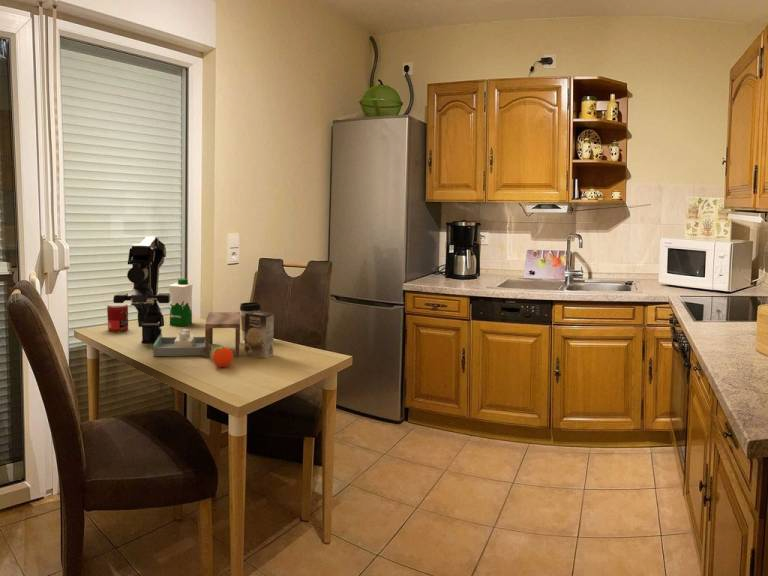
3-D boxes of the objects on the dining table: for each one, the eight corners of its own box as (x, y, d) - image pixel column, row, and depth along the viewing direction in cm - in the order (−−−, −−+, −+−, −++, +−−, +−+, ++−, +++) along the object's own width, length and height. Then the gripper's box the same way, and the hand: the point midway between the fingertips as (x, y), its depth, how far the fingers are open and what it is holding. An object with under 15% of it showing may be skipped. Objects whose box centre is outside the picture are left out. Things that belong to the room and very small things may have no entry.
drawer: (153, 356, 206) (153, 345, 206) (159, 344, 222) (159, 334, 221) (205, 355, 211) (205, 344, 210) (208, 344, 226) (208, 334, 225)
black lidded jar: (255, 341, 234) (255, 305, 231) (235, 340, 235) (236, 304, 233) (263, 337, 242) (264, 302, 239) (244, 335, 243) (245, 300, 241)
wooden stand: (205, 357, 208) (205, 324, 206) (208, 343, 229) (208, 312, 227) (239, 357, 211) (239, 323, 209) (239, 342, 231) (240, 312, 229)
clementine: (210, 370, 194) (210, 350, 193) (207, 364, 200) (207, 345, 199) (234, 368, 197) (234, 348, 196) (231, 363, 204) (231, 343, 202)
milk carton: (194, 322, 262) (194, 279, 259) (184, 327, 253) (184, 282, 250) (176, 321, 263) (176, 278, 260) (166, 325, 255) (165, 280, 251)
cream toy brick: (174, 350, 211) (174, 334, 211) (178, 344, 220) (178, 328, 219) (191, 350, 213) (191, 334, 212) (194, 344, 221) (194, 328, 220)
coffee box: (243, 355, 214) (243, 313, 211) (252, 351, 220) (253, 310, 217) (265, 358, 211) (265, 315, 208) (274, 354, 217) (274, 312, 214)
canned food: (123, 332, 239) (122, 306, 238) (104, 331, 239) (103, 305, 238) (131, 328, 247) (131, 303, 245) (113, 327, 247) (112, 302, 245)
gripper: (109, 282, 199) (110, 326, 201) (166, 282, 203) (167, 326, 206) (116, 277, 210) (117, 319, 212) (170, 278, 214) (171, 319, 217)
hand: (143, 321), depth 211 cm, fingers closed
